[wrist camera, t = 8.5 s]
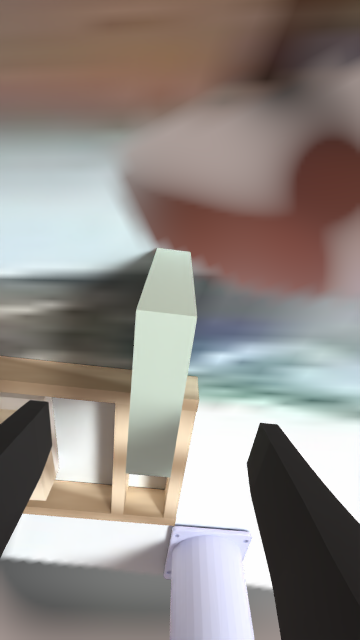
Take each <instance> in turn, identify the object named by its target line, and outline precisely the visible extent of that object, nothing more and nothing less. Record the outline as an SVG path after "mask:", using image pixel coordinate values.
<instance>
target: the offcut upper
mask: <svg viewBox="0 0 360 640" xmlns="http://www.w3.org/2000/svg"><path fill="white" fill-rule="evenodd" d="M16 411H17V410H8V409H0V424H1V423H2V422H3V421H5V420H6V419H7V418H8V417H9V416H11V415H12V414H13V413H14V412H16ZM55 478H56V473H55V467H54V461H53V455H52V449H51V451H50V454H49V456H48V459H47V462H46V465H45V467H44V470H43V472H42V475H41V477H40V479H39V481H38V483H37V486H36V488H35V490H34V492H33V494H32V496H31V498H30V500H42V501H46V499H47V497H48V495H49V492H50V490H51V488H52V485H53V483H54V481H55Z"/></svg>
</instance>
